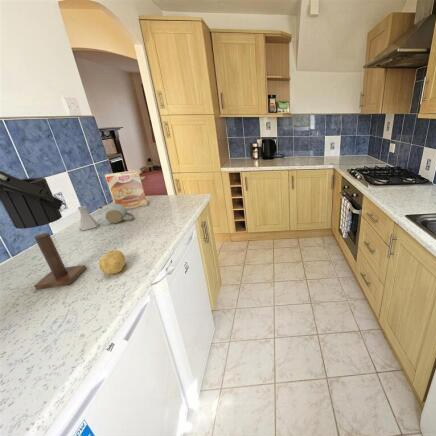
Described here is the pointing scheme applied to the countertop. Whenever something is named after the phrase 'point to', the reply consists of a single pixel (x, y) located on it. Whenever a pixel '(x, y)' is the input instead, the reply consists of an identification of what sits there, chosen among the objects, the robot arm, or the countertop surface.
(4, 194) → the tape roll
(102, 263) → the potato
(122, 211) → the ceramic mug
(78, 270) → the peg
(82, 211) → the flask
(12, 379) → the countertop surface
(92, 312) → the countertop surface
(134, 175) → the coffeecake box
